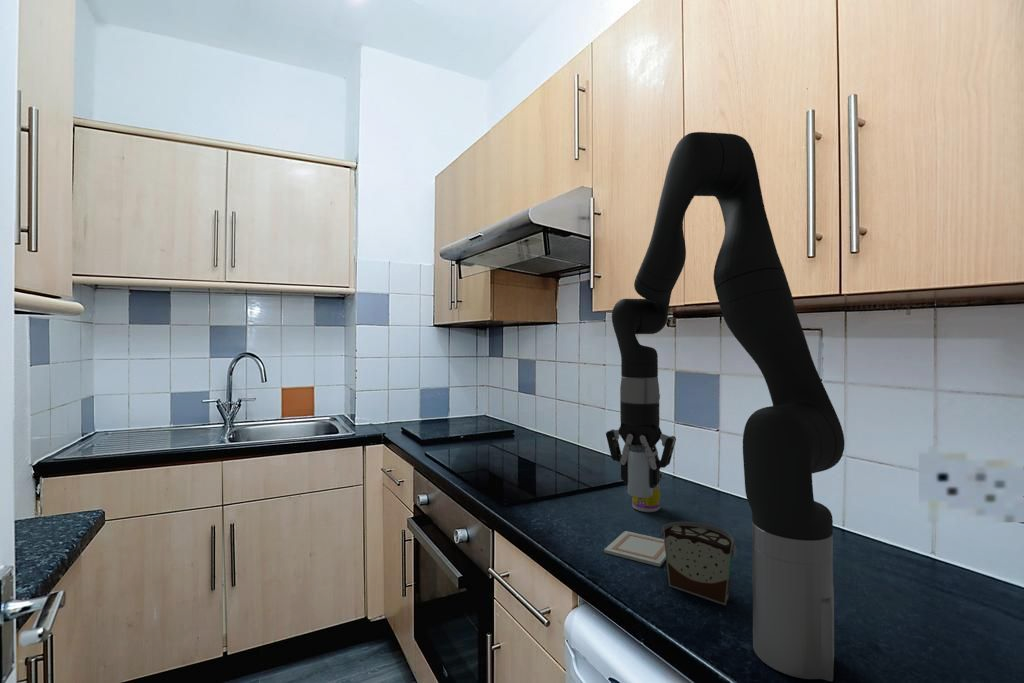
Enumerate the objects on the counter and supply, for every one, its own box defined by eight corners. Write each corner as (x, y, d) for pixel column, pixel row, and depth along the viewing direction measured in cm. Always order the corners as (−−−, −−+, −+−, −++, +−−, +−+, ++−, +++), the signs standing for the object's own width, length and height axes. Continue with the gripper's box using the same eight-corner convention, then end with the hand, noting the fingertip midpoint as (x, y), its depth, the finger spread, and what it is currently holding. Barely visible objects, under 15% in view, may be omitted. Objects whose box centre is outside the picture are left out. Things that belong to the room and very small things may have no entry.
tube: (656, 492, 99) (655, 442, 99) (648, 499, 95) (647, 447, 95) (632, 488, 101) (632, 440, 101) (624, 495, 97) (623, 444, 97)
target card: (677, 545, 100) (677, 541, 100) (659, 566, 91) (659, 563, 91) (625, 533, 106) (625, 530, 106) (604, 552, 97) (604, 549, 97)
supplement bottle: (626, 505, 123) (626, 454, 123) (649, 502, 125) (648, 451, 125) (642, 514, 117) (642, 460, 117) (666, 510, 119) (665, 457, 119)
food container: (748, 593, 81) (747, 532, 81) (735, 609, 76) (735, 544, 76) (675, 570, 89) (675, 515, 89) (660, 583, 85) (660, 525, 85)
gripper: (598, 399, 99) (599, 484, 99) (670, 404, 91) (670, 496, 91) (613, 395, 105) (613, 474, 105) (681, 399, 97) (682, 486, 97)
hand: (640, 484), depth 98 cm, fingers closed on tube, 4 cm apart
